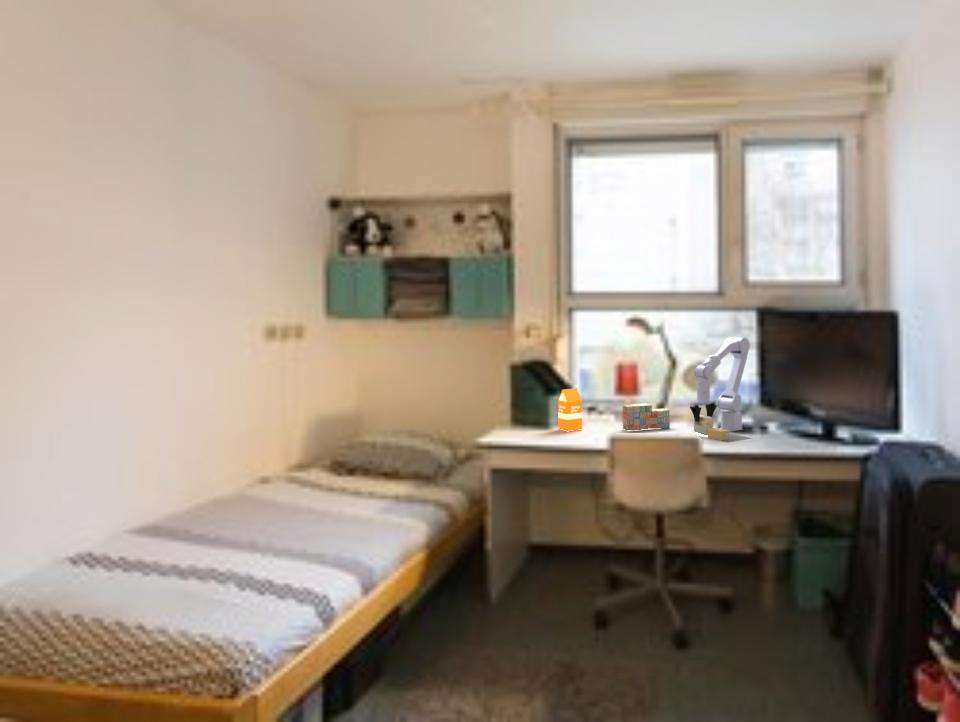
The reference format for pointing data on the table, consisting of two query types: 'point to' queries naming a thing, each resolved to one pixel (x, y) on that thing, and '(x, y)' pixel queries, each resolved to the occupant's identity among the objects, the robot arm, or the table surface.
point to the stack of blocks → (644, 417)
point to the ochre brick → (717, 434)
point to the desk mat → (733, 438)
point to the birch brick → (704, 421)
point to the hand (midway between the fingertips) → (703, 420)
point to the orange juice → (570, 410)
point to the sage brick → (702, 429)
